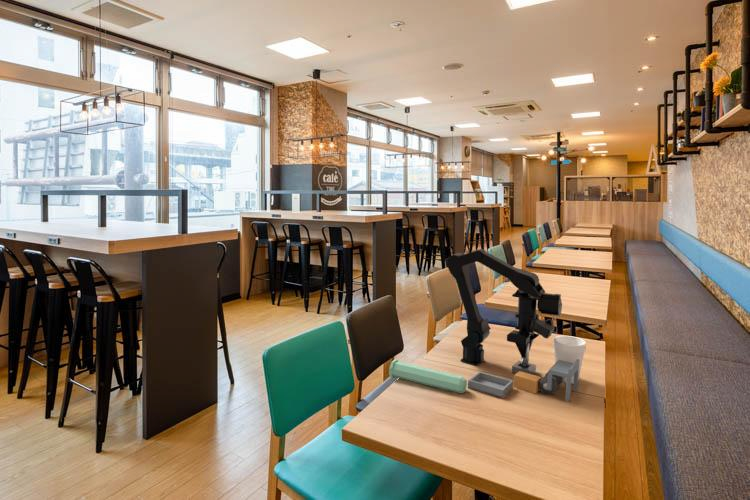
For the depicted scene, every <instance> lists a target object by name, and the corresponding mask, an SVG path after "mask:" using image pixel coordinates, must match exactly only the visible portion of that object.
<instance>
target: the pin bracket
mask: <svg viewBox="0 0 750 500" xmlns="http://www.w3.org/2000/svg"><path fill="white" fill-rule="evenodd" d="M519 371H521V372H525V373H528V374H532V375H535V373H536V371H537V364H534V363H529V364H528V366H527V367H525V366H522V365H521V360H518V361H516V362H515V363H514V364H513V365H511V373H512V374H514V375H515V374H516V373H518V372H519Z"/></svg>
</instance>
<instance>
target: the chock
mask: <svg viewBox="0 0 750 500" xmlns="http://www.w3.org/2000/svg"><path fill="white" fill-rule="evenodd" d="M541 379H542V376H539V375H535V374H533V375H532V374H528V373H525V372H521V371H519V372H518V373H516V374H514V375H513V388H516V389H520V390H524V391H527V392H529V393H532V394H533V393H534V394H537V393H538V392H539V391H540V389H539V387H538V383H539V381H540V380H541Z"/></svg>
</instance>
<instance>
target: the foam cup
mask: <svg viewBox="0 0 750 500" xmlns="http://www.w3.org/2000/svg"><path fill="white" fill-rule="evenodd" d="M586 348H587V342H586V340H584V339H582V338H580V337H576V336H572V335H570V336H569V335H558V336H554V337H553V349H554V362H555V363H556V362H557V361H558V360H562V361H567V362H571V363H574V362H575V361H576V360H577V359H580V360H579V375H578V380H579V379H580V373H581V369H582V365H583V360H584V357H585V356H584V355H585V352H586V350H587V349H586ZM555 363H554V364H555ZM566 382H567V378H565V377H563V382H562V383H566ZM571 384H574V375H573V376H572V377H571Z"/></svg>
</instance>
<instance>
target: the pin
mask: <svg viewBox="0 0 750 500" xmlns="http://www.w3.org/2000/svg"><path fill="white" fill-rule="evenodd" d="M520 361H521V365H522V366H525V367H527V366H528V364H529V362H530V351H529V344H528V348H527V353H526V357H525V358H522V357H520Z"/></svg>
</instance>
